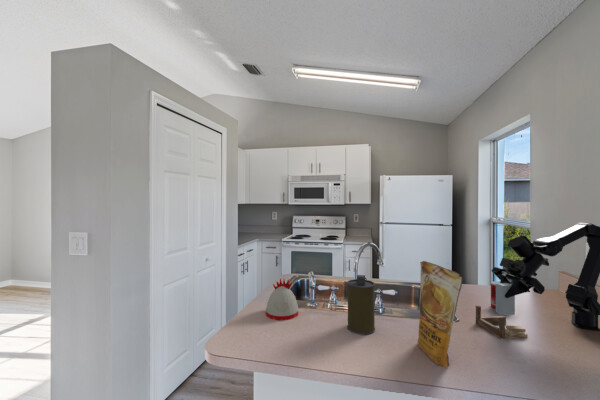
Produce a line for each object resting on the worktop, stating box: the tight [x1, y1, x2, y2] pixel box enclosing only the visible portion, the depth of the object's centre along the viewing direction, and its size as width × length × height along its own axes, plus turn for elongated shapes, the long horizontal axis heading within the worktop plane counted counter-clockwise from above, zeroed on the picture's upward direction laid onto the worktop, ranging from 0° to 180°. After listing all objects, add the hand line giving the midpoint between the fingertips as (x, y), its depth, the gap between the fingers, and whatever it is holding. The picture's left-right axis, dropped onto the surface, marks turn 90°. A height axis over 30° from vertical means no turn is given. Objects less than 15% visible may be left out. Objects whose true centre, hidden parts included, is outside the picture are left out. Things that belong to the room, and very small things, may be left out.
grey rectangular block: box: [495, 283, 516, 316], centre depth 109 cm, size 5×3×11 cm, turn 96°
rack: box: [475, 305, 507, 340], centre depth 109 cm, size 12×13×7 cm
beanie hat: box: [265, 278, 299, 321], centre depth 124 cm, size 14×14×15 cm
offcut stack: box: [505, 325, 529, 339], centre depth 104 cm, size 7×4×3 cm, turn 96°
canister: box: [346, 274, 376, 336], centre depth 110 cm, size 11×10×20 cm
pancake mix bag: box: [417, 260, 463, 370], centre depth 92 cm, size 7×19×28 cm, turn 5°
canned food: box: [490, 280, 500, 310], centre depth 131 cm, size 8×8×11 cm
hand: (501, 295), depth 109 cm, fingers closed on grey rectangular block, 3 cm apart
